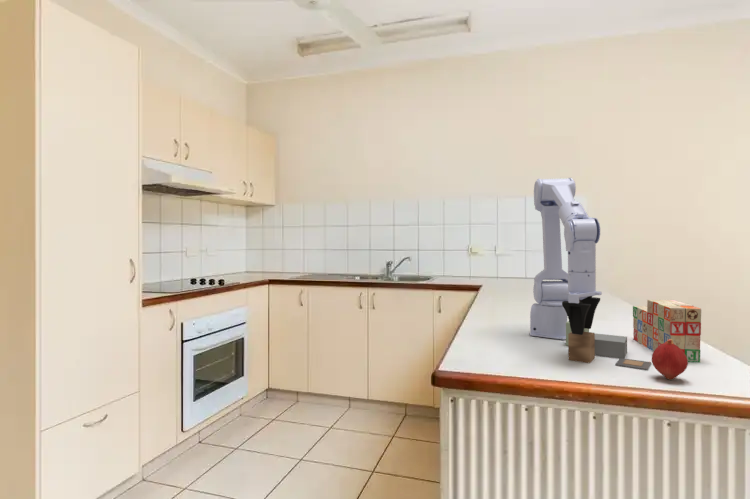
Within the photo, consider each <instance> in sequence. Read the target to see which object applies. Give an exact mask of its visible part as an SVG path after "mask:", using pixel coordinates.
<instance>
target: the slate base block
mask: <svg viewBox="0 0 750 499" xmlns="http://www.w3.org/2000/svg"><path fill="white" fill-rule="evenodd" d="M627 354H628V336H625V335H624V336H623V335H615V334H603V333H595V357H596V356H598V357H606V358H613V359H614V358H615V359H620V358H625V359H626V356H627Z"/></svg>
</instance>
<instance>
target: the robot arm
mask: <svg viewBox="0 0 750 499" xmlns="http://www.w3.org/2000/svg"><path fill="white" fill-rule="evenodd" d="M576 189H577V186H576V181H575V179H573V178H572V177H568V178H537V179H536V180H535V182H534V186H533V204H534V205H533V206H534V209H535V210H536V211H538V212H540V216H541V223H542V248H543V269H542V270H541V271H540V272H539V273H537V274H536V275H535V277H534V279H533V281H534V282H533V290H532V291H533V298H534V300H535V303H532V305H531V307H530V314H529V316H530V317H529V318H530V321H529V322H530V323H529V324H530V325H529V326H530V328H529V329H530V331H529V332H530V333H529V336H531V337H532V336H533V337H540V338H547V339H553V340H554V339H557V340H561V341H562V340H563V341H566V322H568V321H569V323H570V328H571V331H572V334H579V335H582V334H583V332H584V328H587V329H589V330H591V329H592V326H593V321H594V316H595V313H596V310H597V307H598V305H599V303H601V302H600V301H601V297H596V296H601V295H602V294H603V293H602V291H599V290H598V291H597V288H596V286H597V284H596V281H597V279H596V278H597V276H596V275H597V272H596V270H597V269H596V268H597V266H596V265H597V263H596V262H597V260H596V258H597V257H596V255H597V254H596V253H597V252H596V250H597V247H596V246H597V243H599V241H600V237H601V225H600V222H599V219H598V218H597V217H591V216H589V215H588V213H587V212H586V210H585V208H584V206H583V204H581V202H579V201H578V200H575V199H574V198H575V196H576V191H577V190H576ZM561 223H562V226H563V227H564V228H563V237H564V241H565V251H566V252H567V272H566V271H565V270H564V269H563V260H562V240H561Z"/></svg>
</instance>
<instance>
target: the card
mask: <svg viewBox="0 0 750 499" xmlns="http://www.w3.org/2000/svg"><path fill="white" fill-rule="evenodd" d="M614 364H615V366H616V367H623V368H629V369H637V370H643V371H649V369H650V367H651V365H652V361H644V360H638V359H630V358H626V357H625V358H618V359H617V361H616V362H615V363H614Z"/></svg>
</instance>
